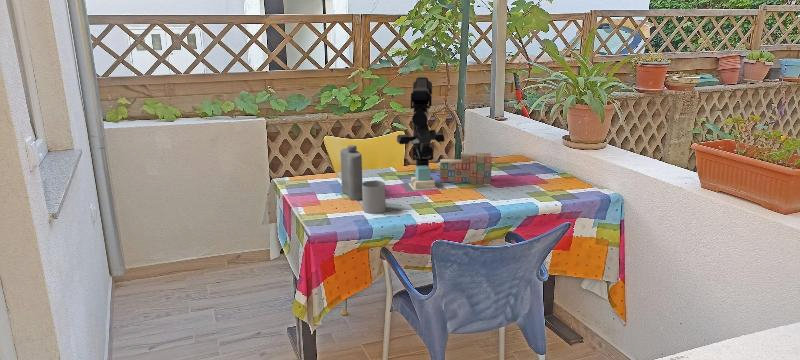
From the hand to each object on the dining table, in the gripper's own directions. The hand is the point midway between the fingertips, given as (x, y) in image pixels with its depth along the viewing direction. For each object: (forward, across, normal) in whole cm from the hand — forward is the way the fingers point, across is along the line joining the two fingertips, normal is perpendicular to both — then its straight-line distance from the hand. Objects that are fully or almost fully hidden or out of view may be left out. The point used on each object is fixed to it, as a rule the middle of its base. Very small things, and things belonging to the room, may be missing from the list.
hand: (420, 158), depth 239 cm
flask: (+12, -29, -6) cm, 32 cm away
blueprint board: (+12, 0, -4) cm, 12 cm away
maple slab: (+11, 0, -4) cm, 11 cm away
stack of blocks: (+12, +20, +1) cm, 23 cm away
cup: (+11, -24, -26) cm, 37 cm away
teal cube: (+8, 0, -4) cm, 9 cm away
